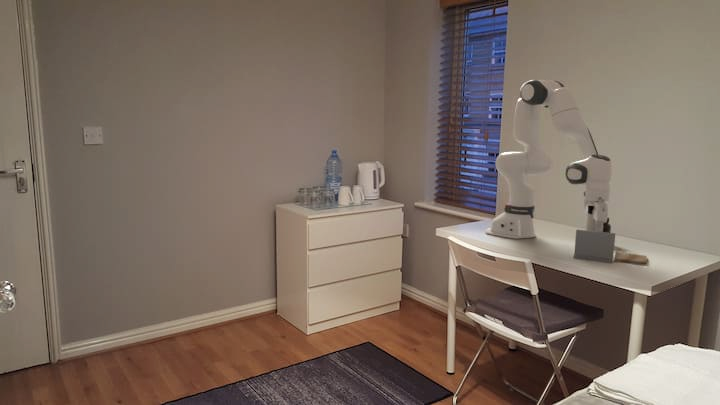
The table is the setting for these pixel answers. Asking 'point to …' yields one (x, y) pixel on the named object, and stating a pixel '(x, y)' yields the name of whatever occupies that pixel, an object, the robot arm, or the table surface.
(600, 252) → the slate screen
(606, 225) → the supplement bottle
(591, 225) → the travel mug
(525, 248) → the table surface
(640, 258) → the walnut pad
